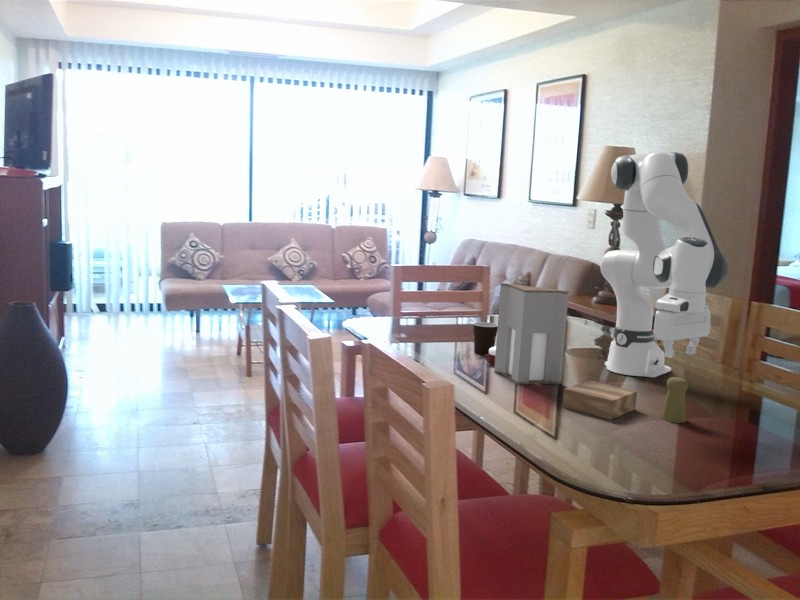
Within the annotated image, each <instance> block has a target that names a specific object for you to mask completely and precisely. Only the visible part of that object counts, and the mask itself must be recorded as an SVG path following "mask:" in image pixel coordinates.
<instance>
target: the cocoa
mask: <svg viewBox="0 0 800 600" xmlns="http://www.w3.org/2000/svg"><path fill="white" fill-rule="evenodd" d="M495 355H496V345H494V347H491V348H490V349H489V353H488V355H485V356H486V357H485V359H486V361H487V363H489V364H491V365H492V366H495Z"/></svg>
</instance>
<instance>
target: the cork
mask: <svg viewBox="0 0 800 600" xmlns="http://www.w3.org/2000/svg"><path fill="white" fill-rule="evenodd" d="M666 388H667V393H666V398H665V402H664V404H663V409H662V413H661V417H660V418H661V419H662V420H663V421H666V422H670V423H675V424H676V423H677V424H679V423H681V424H682V423H683V424H684V423H686V422H687V421H686V391H687V390H688V388H689V383H688V381H687V380H686V379H685V378H683V377H679V376H672V377H669V378H668V379H667V381H666Z"/></svg>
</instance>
